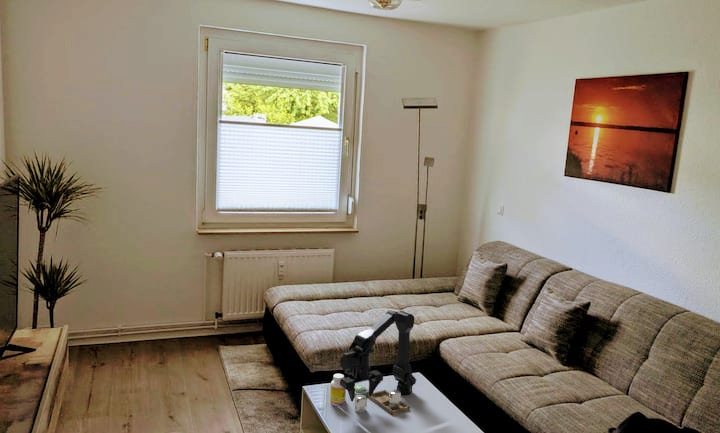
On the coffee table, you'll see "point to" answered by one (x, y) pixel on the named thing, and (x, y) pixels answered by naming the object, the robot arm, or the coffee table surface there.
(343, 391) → the supplement bottle
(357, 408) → the cylinder
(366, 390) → the grey square tray
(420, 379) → the coffee table surface
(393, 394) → the cylinder
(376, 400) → the wooden tray
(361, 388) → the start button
